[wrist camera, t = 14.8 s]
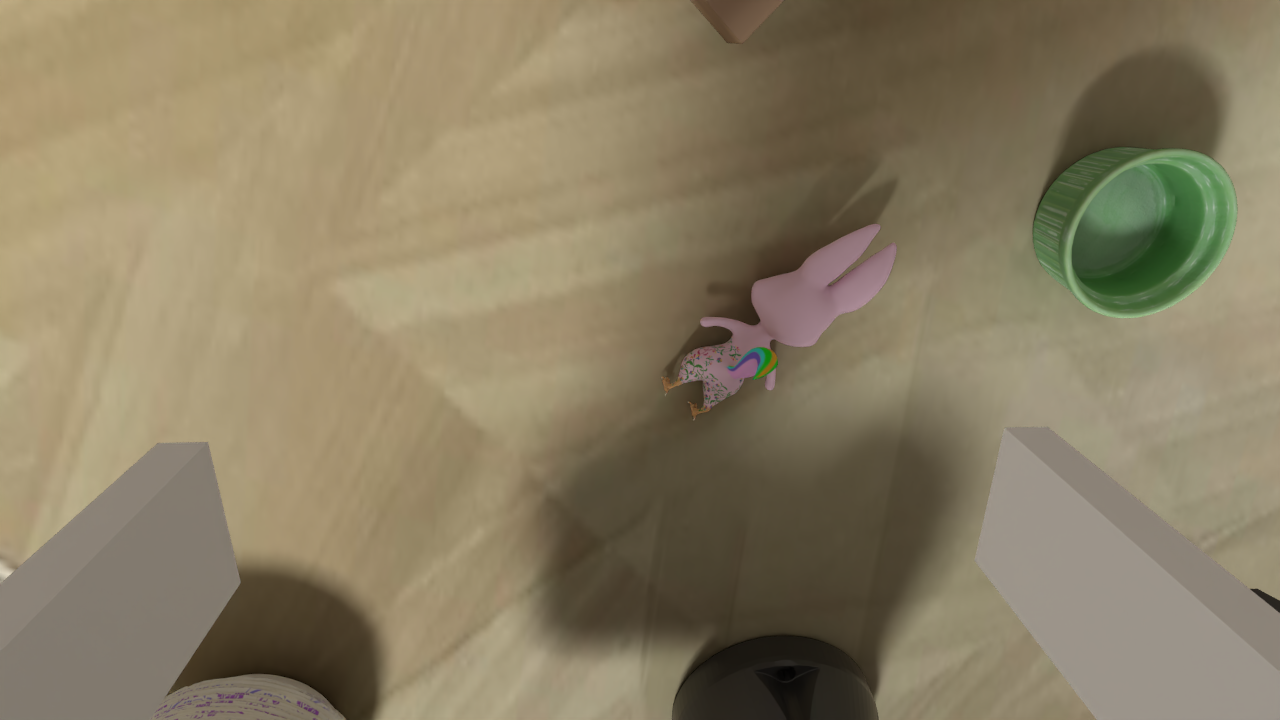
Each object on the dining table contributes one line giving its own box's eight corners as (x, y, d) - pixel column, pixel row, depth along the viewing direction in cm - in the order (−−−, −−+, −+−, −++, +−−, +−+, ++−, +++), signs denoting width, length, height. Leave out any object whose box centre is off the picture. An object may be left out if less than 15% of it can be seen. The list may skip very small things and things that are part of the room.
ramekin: (989, 229, 42) (1031, 249, 38) (1118, 101, 40) (1178, 108, 36) (1080, 322, 45) (1128, 350, 41) (1207, 207, 42) (1271, 225, 38)
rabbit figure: (711, 411, 47) (913, 262, 41) (715, 470, 42) (945, 309, 36) (644, 348, 45) (845, 182, 39) (638, 402, 40) (869, 220, 34)
